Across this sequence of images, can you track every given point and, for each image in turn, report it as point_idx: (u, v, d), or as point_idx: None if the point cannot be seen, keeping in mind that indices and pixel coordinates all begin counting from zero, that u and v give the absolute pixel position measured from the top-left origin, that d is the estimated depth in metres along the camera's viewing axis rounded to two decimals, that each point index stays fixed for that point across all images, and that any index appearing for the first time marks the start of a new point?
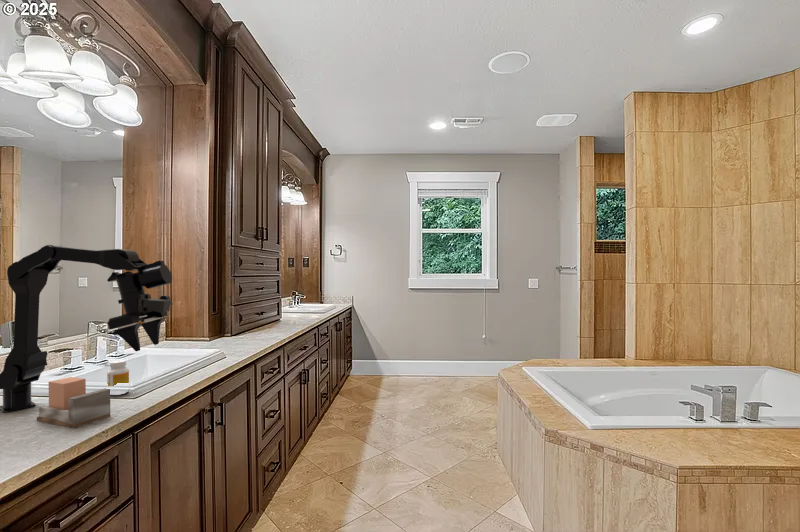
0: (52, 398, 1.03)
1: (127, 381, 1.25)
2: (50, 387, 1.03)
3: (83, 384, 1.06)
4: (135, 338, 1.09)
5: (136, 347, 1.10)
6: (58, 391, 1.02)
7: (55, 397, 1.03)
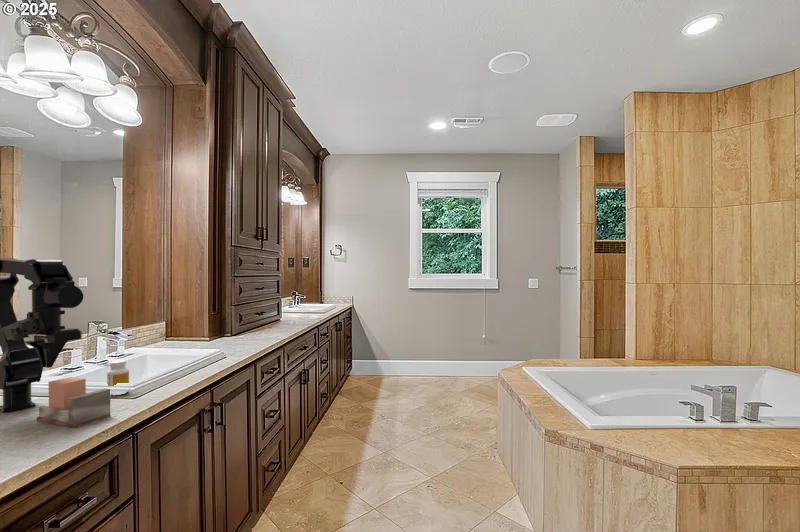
0: (52, 398, 1.03)
1: (127, 381, 1.25)
2: (50, 387, 1.03)
3: (83, 384, 1.06)
4: None
5: None
6: (58, 391, 1.02)
7: (55, 397, 1.03)
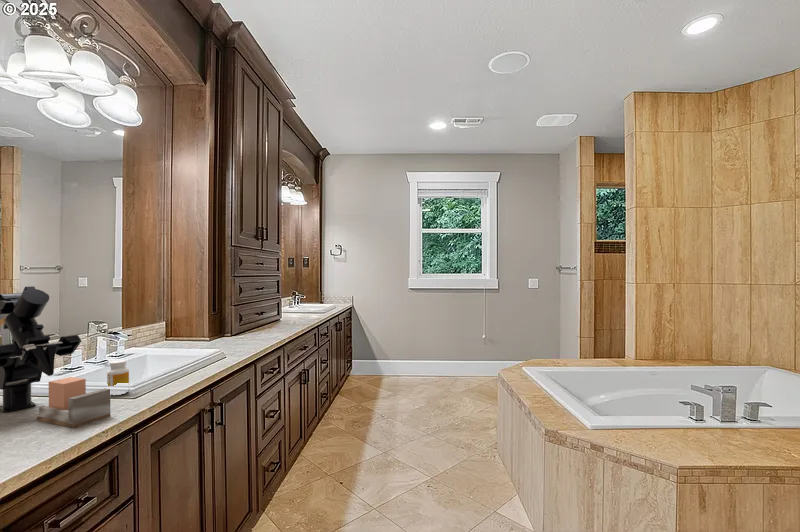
0: (52, 398, 1.03)
1: (127, 381, 1.25)
2: (50, 387, 1.03)
3: (83, 384, 1.06)
4: None
5: None
6: (58, 391, 1.02)
7: (55, 397, 1.03)
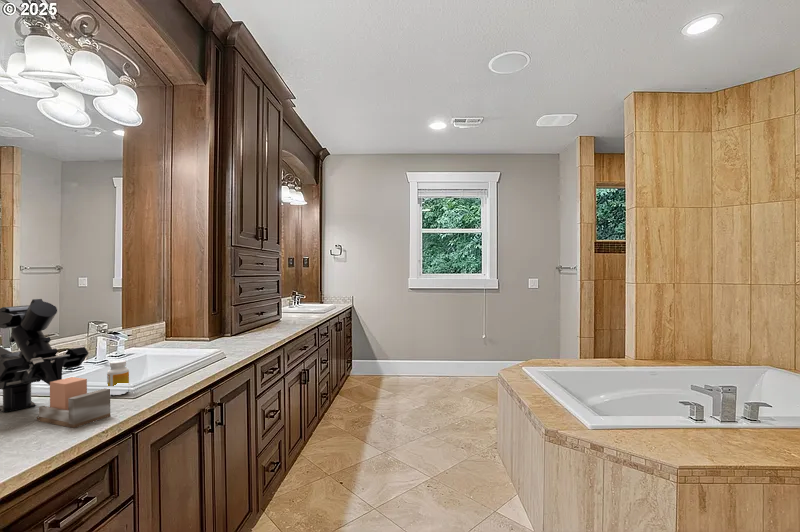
0: (53, 398, 1.03)
1: (127, 381, 1.25)
2: (51, 387, 1.03)
3: (84, 384, 1.06)
4: None
5: None
6: (59, 391, 1.02)
7: (56, 397, 1.02)
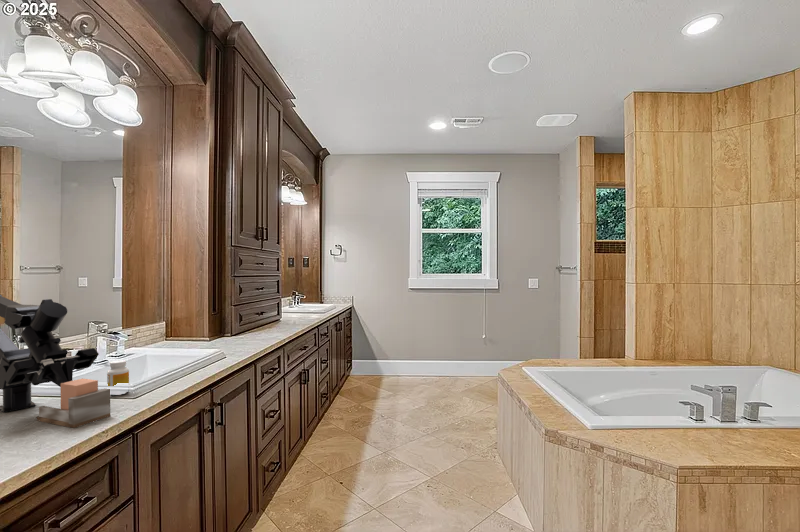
0: (64, 400, 1.01)
1: (127, 381, 1.25)
2: (62, 389, 1.02)
3: (95, 386, 1.04)
4: None
5: None
6: (70, 393, 1.01)
7: (67, 399, 1.01)
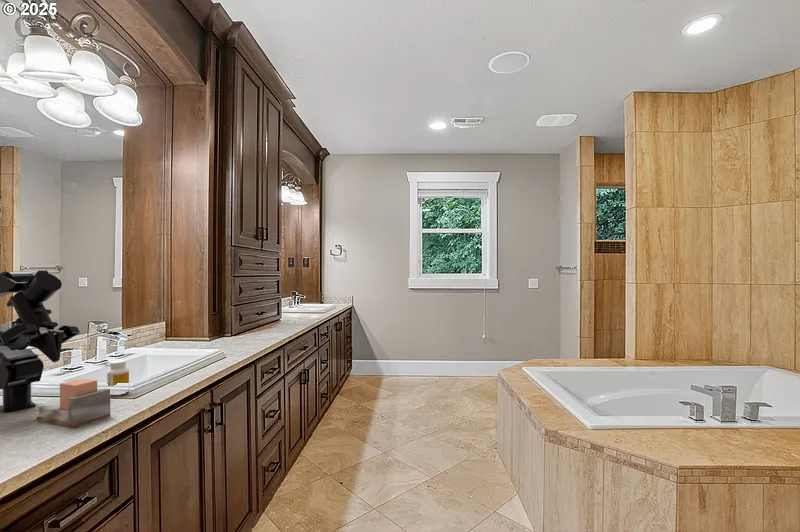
0: (63, 400, 1.01)
1: (127, 381, 1.25)
2: (61, 389, 1.02)
3: (95, 386, 1.04)
4: None
5: None
6: (69, 393, 1.01)
7: (67, 399, 1.01)
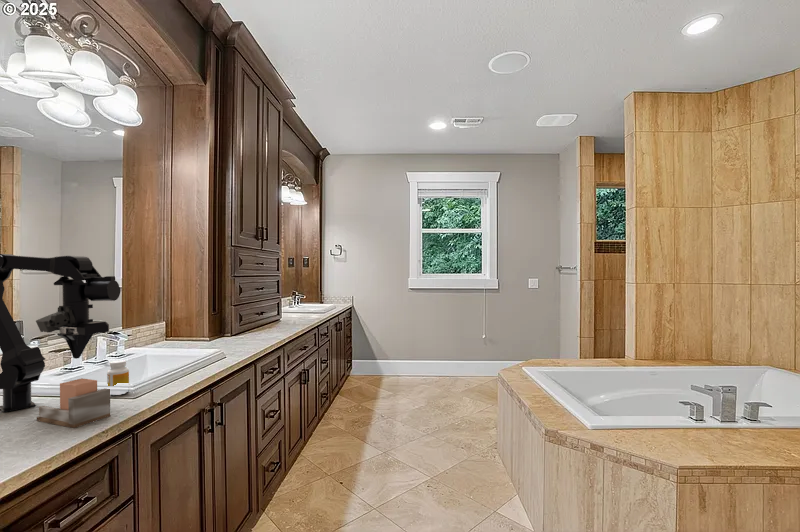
0: (63, 400, 1.01)
1: (127, 381, 1.25)
2: (61, 389, 1.02)
3: (95, 386, 1.04)
4: None
5: None
6: (69, 393, 1.01)
7: (67, 399, 1.01)
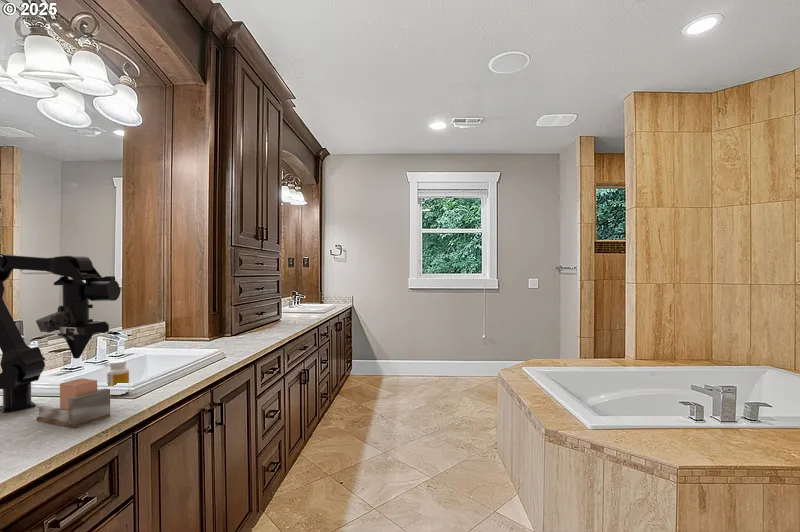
0: (63, 400, 1.01)
1: (127, 381, 1.25)
2: (61, 389, 1.02)
3: (95, 386, 1.04)
4: None
5: None
6: (69, 393, 1.01)
7: (67, 399, 1.01)
